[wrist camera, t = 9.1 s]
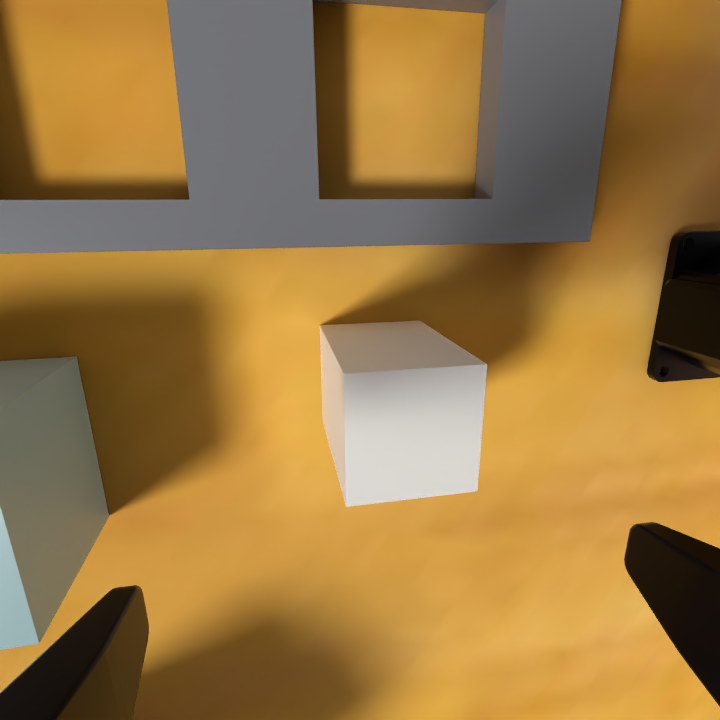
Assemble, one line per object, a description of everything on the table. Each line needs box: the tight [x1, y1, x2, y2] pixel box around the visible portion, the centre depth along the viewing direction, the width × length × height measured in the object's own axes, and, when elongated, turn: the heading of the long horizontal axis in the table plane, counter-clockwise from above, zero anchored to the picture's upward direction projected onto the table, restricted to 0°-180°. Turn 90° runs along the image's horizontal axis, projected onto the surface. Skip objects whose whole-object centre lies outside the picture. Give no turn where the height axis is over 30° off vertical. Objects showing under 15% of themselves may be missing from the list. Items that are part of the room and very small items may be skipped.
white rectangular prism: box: [320, 321, 487, 507], centre depth 16 cm, size 4×4×6 cm
